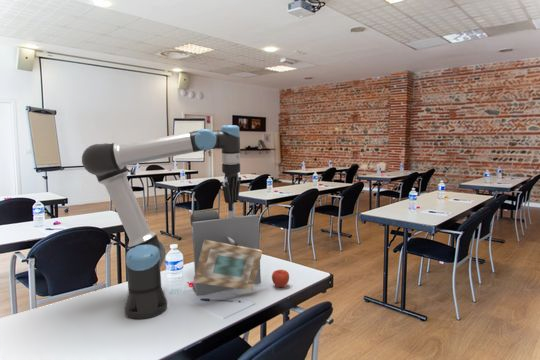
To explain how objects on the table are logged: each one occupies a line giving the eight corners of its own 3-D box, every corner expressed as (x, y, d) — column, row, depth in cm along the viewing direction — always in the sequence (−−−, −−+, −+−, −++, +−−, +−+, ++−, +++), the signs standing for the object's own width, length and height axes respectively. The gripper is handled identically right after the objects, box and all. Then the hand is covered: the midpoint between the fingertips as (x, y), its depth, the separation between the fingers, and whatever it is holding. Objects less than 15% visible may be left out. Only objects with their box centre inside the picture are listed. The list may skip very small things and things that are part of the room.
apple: (285, 282, 160) (285, 264, 159) (292, 288, 153) (291, 270, 152) (270, 284, 158) (269, 266, 157) (275, 291, 151) (274, 272, 150)
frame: (195, 283, 137) (207, 237, 137) (193, 280, 140) (205, 235, 140) (252, 290, 147) (264, 248, 147) (249, 287, 150) (260, 245, 150)
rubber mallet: (197, 279, 167) (194, 214, 163) (192, 274, 173) (189, 211, 170) (222, 273, 173) (220, 211, 169) (217, 268, 179) (214, 208, 176)
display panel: (201, 302, 142) (197, 226, 139) (192, 288, 156) (189, 219, 153) (267, 288, 153) (264, 218, 150) (253, 276, 167) (251, 212, 164)
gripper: (231, 165, 144) (232, 223, 149) (246, 161, 156) (247, 214, 160) (214, 164, 147) (216, 220, 152) (231, 160, 159) (232, 212, 163)
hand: (232, 217), depth 156 cm, fingers closed
